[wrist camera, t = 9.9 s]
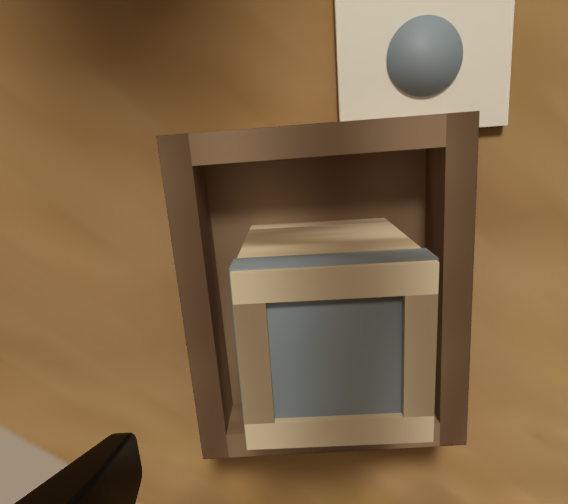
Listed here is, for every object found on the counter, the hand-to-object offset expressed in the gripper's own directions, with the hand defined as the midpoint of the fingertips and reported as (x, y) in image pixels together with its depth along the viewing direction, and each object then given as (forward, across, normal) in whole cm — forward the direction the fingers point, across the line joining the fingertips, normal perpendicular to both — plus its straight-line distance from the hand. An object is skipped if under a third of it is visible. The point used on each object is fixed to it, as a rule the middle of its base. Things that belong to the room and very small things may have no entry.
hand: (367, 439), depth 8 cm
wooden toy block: (+9, 0, 0) cm, 9 cm away
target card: (+9, -4, -10) cm, 14 cm away
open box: (+9, 0, 0) cm, 9 cm away
